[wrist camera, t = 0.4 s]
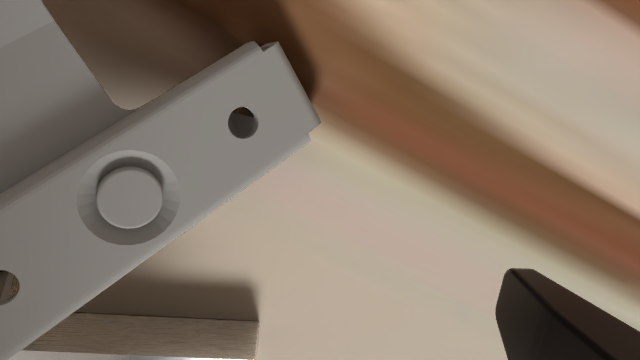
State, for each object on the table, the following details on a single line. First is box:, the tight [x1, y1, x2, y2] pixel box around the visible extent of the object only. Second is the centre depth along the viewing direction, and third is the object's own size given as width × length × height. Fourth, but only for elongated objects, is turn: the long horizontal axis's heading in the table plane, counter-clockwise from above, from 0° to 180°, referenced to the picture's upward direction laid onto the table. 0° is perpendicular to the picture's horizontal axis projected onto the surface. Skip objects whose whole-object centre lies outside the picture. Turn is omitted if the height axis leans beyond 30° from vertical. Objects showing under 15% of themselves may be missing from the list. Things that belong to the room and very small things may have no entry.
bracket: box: [0, 0, 321, 360], centre depth 18 cm, size 10×14×10 cm
